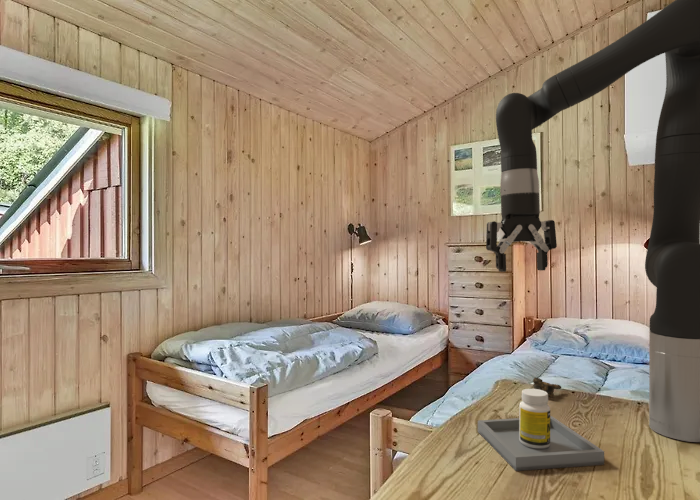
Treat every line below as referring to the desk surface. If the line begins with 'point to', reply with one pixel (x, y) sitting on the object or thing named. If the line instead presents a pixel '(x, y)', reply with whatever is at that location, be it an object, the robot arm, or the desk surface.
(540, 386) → the cat figurine
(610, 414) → the desk surface
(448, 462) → the desk surface
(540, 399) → the supplement bottle
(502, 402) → the desk surface
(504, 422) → the tray
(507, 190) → the robot arm
